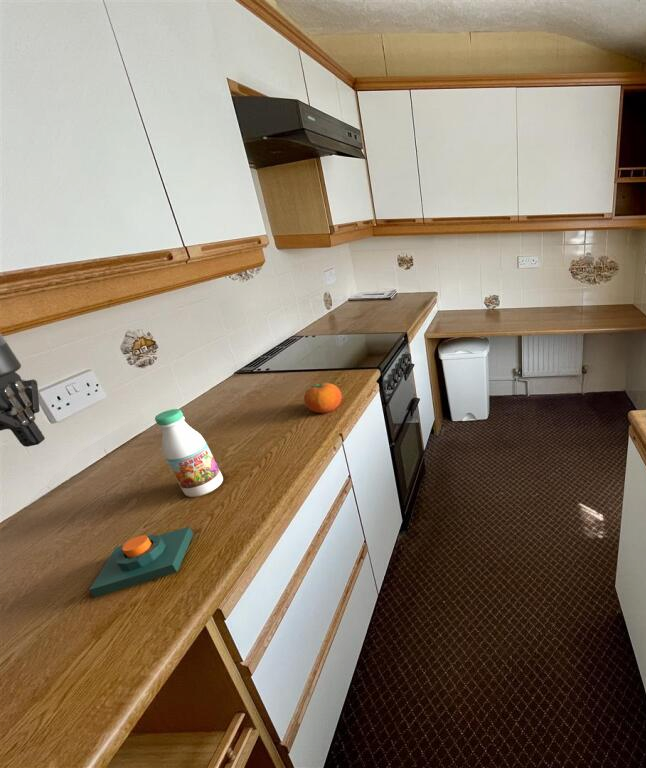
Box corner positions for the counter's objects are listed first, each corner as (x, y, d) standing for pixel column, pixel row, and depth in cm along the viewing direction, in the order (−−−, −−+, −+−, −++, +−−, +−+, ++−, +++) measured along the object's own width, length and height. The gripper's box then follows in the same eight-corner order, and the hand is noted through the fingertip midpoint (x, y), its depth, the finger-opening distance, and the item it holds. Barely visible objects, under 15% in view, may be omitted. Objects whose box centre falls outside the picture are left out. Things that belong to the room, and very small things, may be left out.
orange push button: (123, 560, 72) (118, 553, 71) (131, 546, 75) (127, 539, 74) (147, 553, 73) (143, 546, 72) (154, 539, 76) (150, 532, 75)
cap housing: (95, 598, 70) (83, 582, 68) (121, 555, 78) (110, 540, 76) (178, 573, 73) (168, 557, 71) (194, 534, 82) (185, 519, 80)
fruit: (349, 409, 126) (342, 386, 122) (314, 421, 120) (306, 398, 116) (337, 398, 133) (331, 376, 130) (304, 409, 128) (297, 386, 124)
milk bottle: (176, 495, 93) (135, 421, 85) (208, 474, 100) (172, 403, 91) (201, 500, 91) (161, 424, 82) (231, 478, 98) (197, 406, 89)
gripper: (-32, 339, 65) (31, 430, 73) (-107, 368, 54) (-24, 472, 62) (28, 331, 68) (83, 420, 75) (-32, 357, 57) (39, 458, 64)
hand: (35, 443), depth 69 cm, fingers closed
